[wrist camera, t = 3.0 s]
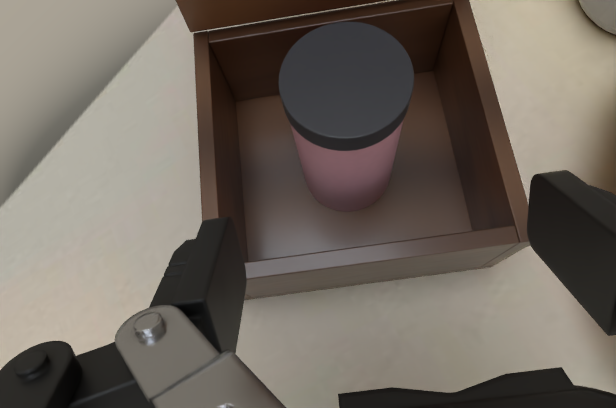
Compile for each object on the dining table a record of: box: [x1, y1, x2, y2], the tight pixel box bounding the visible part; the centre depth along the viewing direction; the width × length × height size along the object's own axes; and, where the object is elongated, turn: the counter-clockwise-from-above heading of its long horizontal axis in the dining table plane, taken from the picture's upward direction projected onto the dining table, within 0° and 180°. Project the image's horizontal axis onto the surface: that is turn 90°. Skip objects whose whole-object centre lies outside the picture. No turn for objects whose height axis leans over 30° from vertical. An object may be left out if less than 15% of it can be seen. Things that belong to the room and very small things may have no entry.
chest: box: [194, 0, 530, 300], centre depth 25 cm, size 14×15×7 cm
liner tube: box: [278, 22, 414, 212], centre depth 23 cm, size 5×5×10 cm
